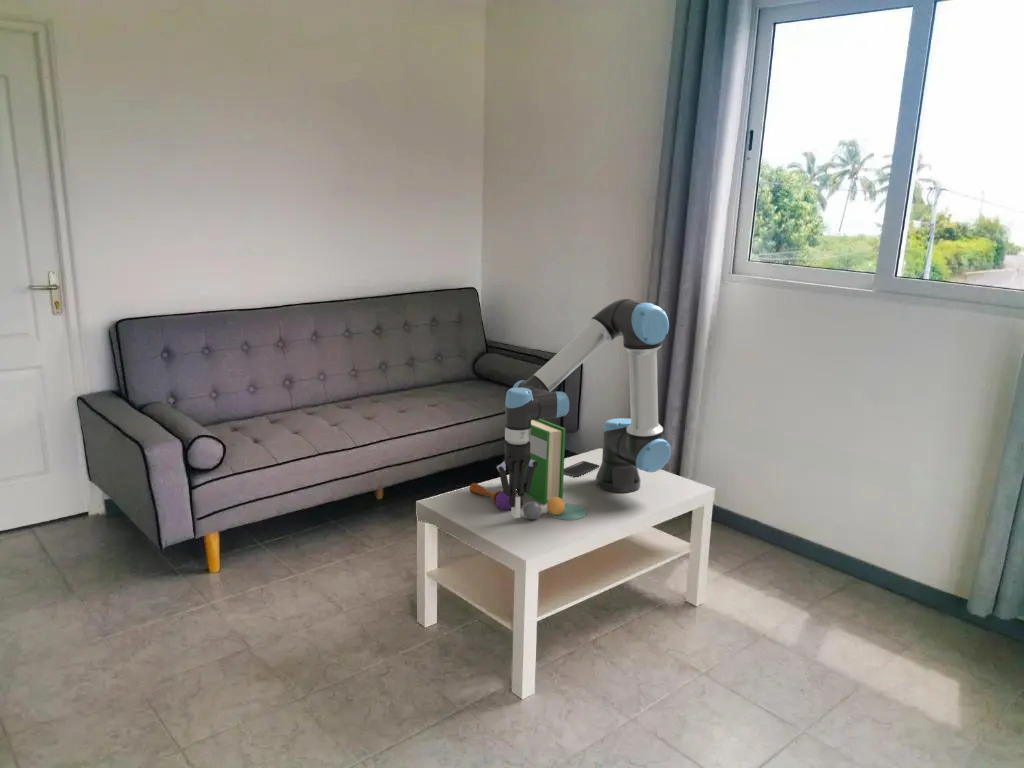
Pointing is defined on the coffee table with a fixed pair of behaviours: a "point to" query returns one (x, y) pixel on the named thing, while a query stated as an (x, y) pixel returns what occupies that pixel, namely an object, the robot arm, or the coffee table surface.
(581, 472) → the phone
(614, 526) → the coffee table surface
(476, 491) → the kendama
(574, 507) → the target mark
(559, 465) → the hardback book
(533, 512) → the gray ball
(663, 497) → the coffee table surface
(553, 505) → the orange ball
